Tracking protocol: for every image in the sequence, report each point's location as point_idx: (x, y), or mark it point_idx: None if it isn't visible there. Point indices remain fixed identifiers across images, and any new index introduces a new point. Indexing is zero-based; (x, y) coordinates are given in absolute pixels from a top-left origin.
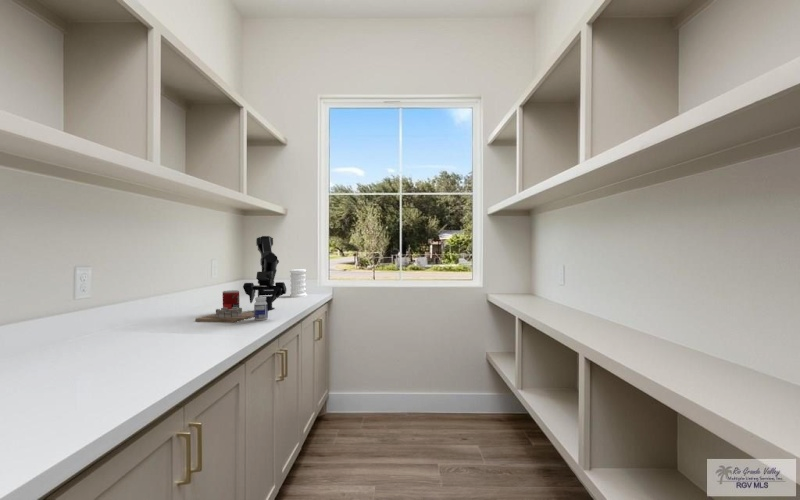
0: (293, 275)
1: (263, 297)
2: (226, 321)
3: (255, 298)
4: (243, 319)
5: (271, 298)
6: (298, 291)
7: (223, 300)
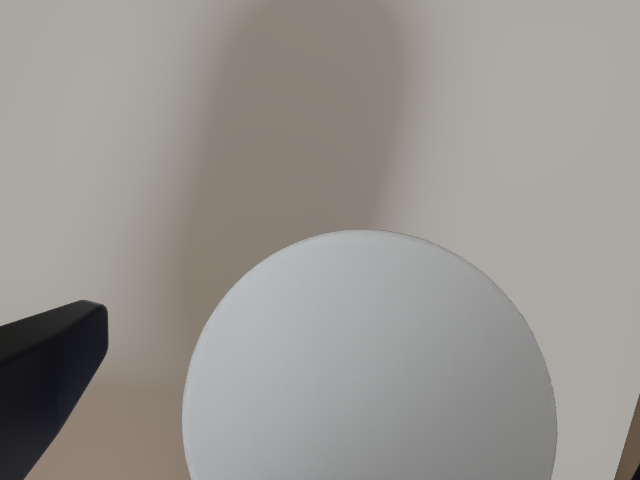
0: None
1: (270, 346)
2: None
3: (532, 340)
4: (629, 443)
5: (30, 339)
6: None
7: None
